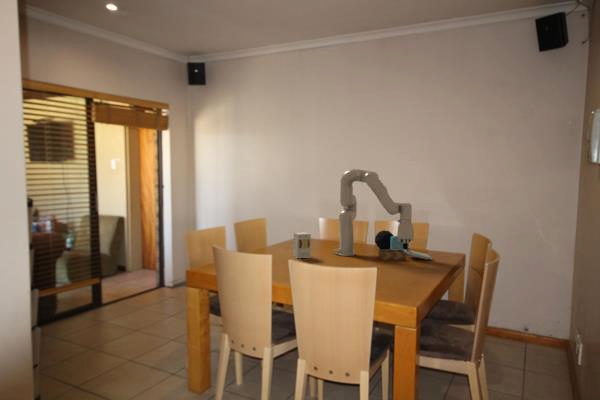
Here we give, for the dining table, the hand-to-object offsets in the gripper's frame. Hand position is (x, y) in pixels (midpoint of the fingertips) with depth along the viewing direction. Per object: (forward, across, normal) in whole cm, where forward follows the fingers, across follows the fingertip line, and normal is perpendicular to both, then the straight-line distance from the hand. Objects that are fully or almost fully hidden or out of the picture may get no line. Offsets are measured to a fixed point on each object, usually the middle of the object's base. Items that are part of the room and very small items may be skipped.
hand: (405, 249), depth 280 cm
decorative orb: (+7, -8, +32) cm, 33 cm away
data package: (+7, 0, +19) cm, 20 cm away
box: (+6, -9, 0) cm, 11 cm away
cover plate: (+5, +8, 0) cm, 10 cm away
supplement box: (+7, -69, +4) cm, 69 cm away
